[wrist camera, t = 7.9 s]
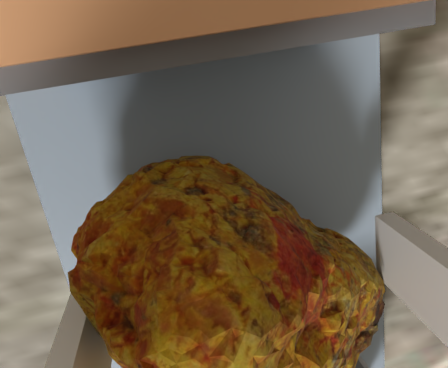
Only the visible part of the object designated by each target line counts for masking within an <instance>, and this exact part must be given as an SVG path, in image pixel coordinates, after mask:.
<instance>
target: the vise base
mask: <svg viewBox="0 0 448 368" xmlns="http://www.w3.org/2000/svg"><path fill="white" fill-rule="evenodd" d="M6 98H7V101H8V104H9V107H10V110H11V113H12V116H13V119H14V122H15V125H16V128H17V131H18V134H19V138H20V141H21V144H22V147H23V150H24V153H25V156H26V159H27V162H28V165H29V168H30V171H31V174H32V177H33V180H34V183H35V186H36V189H37V192H38V195H39V198H40V201H41V204H42V207H43V210H44V213H45V216H46V219H47V222H48V225H49V228H50V231H51V234H52V237H53V240H54V243H55V246H56V249H57V252H58V255H59V258H60V261H61V264H62V267H63V270H64V273H65V276H66V279H67V282H68V285H69V279H68V272H69V271H71V270H72V269H74V268H75V266H76V264H77V259H76V257H75V256H74V254H73V253H72V251H71V247H72V242H73V237H74V235H75V234H76V232H77V229H78V227H80V226H81V225H82V224H83V223H84V221H85V219H86V216H87V214H88V212H89V210H90V209H91V207H92V206H93V205H94V204H95V203H96V202H98V201H103V200H104V199H105V198H107V196H108V195H110V194H111V193H112V192H113V191H114V190H115V189H116V188H117V187H118V185H119V184H120V183H121V182H122V181H123V180H124V179H125V178H126V176H127V175H130V174H134V173H135V172H137V171H138V170H139V169H140V168H141V167H143V166H145V165H148V164H150V163H153V162H162V161H164V160H167V159H178V158H180V157H181V156H197V155H198V156H210V157H212V158H214V159H217V160H218V161H219V162H220V163H222V164H226V163H230V164H232V165H234V166H235V167H237V168H239V169H240V170H242V171H243V172H245V173H246V174H248V175H249V176H250V177H251V178H253V179H254V180H255V181H257V182H258V183H259V184H261V185H262V186H264V187H266V188H267V189H269V190H271V191H273V192H275V193H277V194H278V195H279V196H281V197H282V198H283V199H285V200H286V201H288V202H290V203H291V204H292V205H293V206H294V208H295V209H296V211H297V212H298V214H299V216H300V217H301V218H304V219H310V221H311V222H312V223H313V224H314V225H315V226H317V227H320V228H323V229H325V228H328V229H331V230H333V231H336V232H338V233H340V234H342V235H344V236H345V237H347V238H349V239H350V240H351V241H352V242H354V243H355V244H356V245H357V246H358V247H359V248H360V249H361V250H363V251H364V252H365V253H366V254H367V255H368V256H369V257H370V258H371V259H372V261H373V263H374V266H375V267H376V237H375V216H376V215H380V214H382V172H381V107H380V42H379V34H374V35H368V36H362V37H356V38H350V39H344V40H338V41H332V42H326V43H320V44H313V45H307V46H301V47H295V48H289V49H283V50H277V51H271V52H265V53H258V54H252V55H246V56H240V57H234V58H228V59H222V60H216V61H210V62H204V63H197V64H191V65H185V66H179V67H173V68H167V69H161V70H155V71H149V72H142V73H136V74H130V75H124V76H118V77H112V78H106V79H100V80H94V81H88V82H81V83H75V84H69V85H63V86H57V87H51V88H45V89H39V90H33V91H26V92H20V93H14V94H8V95H6ZM69 288H70V286H69ZM111 368H122V367H121V366H120V365H118V364H117V363H116V362H115V361H114V360H113V359H112V363H111ZM355 368H384V309H383V313H382V316H381V318H380V320H379V322H378V331H377V332H376V333H375V334H374V335H373V338H372V342H371V345H370V346H369V347H367V348H366V349H365V350H364V351H362V352H361V353H360V355H359V358H358V360H357V363H356V366H355Z"/></svg>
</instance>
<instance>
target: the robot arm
mask: <svg viewBox="0 0 448 368" xmlns="http://www.w3.org/2000/svg"><path fill="white" fill-rule="evenodd" d="M375 237H376V269H377V271H378V273H379V274H380V276H381V278H382V280H383V282H384V284H385V285H386V286H387V287H388V288H389V289H390V290H391V291H392V292H393V293H394V294H395V295H396V296H397V297H398V298H399V299H400V300H401V301H402V302H403V303H404V304H405V305H406V306H407V307H408V308H409V309H410V310H411V311H412V312H413V313H414V314H415V315H416V316H417V317H418V318H419V319H420V320H421V321H422V322H423V323H424V324H425V325H426V326H427V327H428V328H429V329H430V330H431V331H432V332H433V333H434V334H435V335H436V336H437V337H438V338H439V339H440V340H441V341H442V342H443V343H444V344H445V345H446V346H447V347H448V248H447V247H446V246H444V245H443V244H441V243H440V242H438V241H437V240H435V239H434V238H432V237H431V236H429V235H428V234H426V233H425V232H423V231H421V230H420V229H418V228H417V227H415V226H414V225H412V224H411V223H409V222H408V221H406V220H405V219H403V218H402V217H400V216H399V215H397V214H396V213H394V212H390V213H385V214H380V215H376V216H375ZM111 363H112V358H111V357H110V356H109V354H108V351H107V348H106V345H105V342H104V339H103V338H102V337H101V336H100V335H99V334H98V333H97V332H96V330H95V329H94V327H93V326H92V324H91V322H90V321H89V319H88V318H87V316H86V315H85V313H84V312H83V310H82V309H81V307H80V305H79V304H78V303H77V301H76V300H75V298H74V297H73V296H72V294H71V295H70V297H69V300H68V303H67V306H66V309H65V311H64V314H63V317H62V320H61V323H60V326H59V328H58V331H57V334H56V337H55V340H54V342H53V345H52V348H51V351H50V354H49V357H48V359H47V362H46V365H45V368H111Z"/></svg>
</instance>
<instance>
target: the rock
mask: <svg viewBox="0 0 448 368" xmlns="http://www.w3.org/2000/svg"><path fill="white" fill-rule="evenodd" d="M71 251H72V253H73V254H74V256H75V257H76V259H77V264H76V266H75V268H74V269H72V270H71V271H69V272H68V279H69V286H70V292H71V294H72V296H73V297H74V298H75V300H76V301H77V303H78V304H79V305H80V307H81V309H82V310H83V312H84V313H85V315H86V316H87V318H88V319H89V321H90V322H91V324H92V326H93V327H94V329H95V330H96V332H97V333H98V334H99V335H100V336H101V337H102V338H103V339H104V342H105V345H106V348H107V351H108V354H109V356H110V357H111V358H112V359H113V360H114V361H115V362H116V363H117V364H118V365H120V366H121V367H122V368H355V366H356V363H357V360H358V358H359V355H360V353H361V352H362V351H364V350H365V349H366V348H367V347H369V346H370V345H371V342H372V338H373V335H374V334H375V333H376V332H377V331H378V322H379V320H380V318H381V316H382V313H383V309H384V305H385V304H384V301H383V294H384V292H385V288H384V282H383V280H382V278H381V276H380V274H379V273H378V271H377V269H376V267H375V266H374V263H373V261H372V259H371V258H370V257H369V256H368V255H367V254H366V253H365V252H364V251H363V250H361V249H360V248H359V247H358V246H357V245H356V244H355V243H354V242H352V241H351V240H350V239H349V238H347V237H345V236H344V235H342V234H340V233H338V232H336V231H333V230H331V229H328V228H325V229H323V228H320V227H317V226H315V225H314V224H313V223H312V222H311V221H310V219H304V218H301V217H300V216H299V214H298V212H297V211H296V209H295V208H294V206H293V205H292V204H291V203H290V202H288V201H286V200H285V199H283V198H282V197H281V196H279V195H278V194H277V193H275V192H273V191H271V190H269V189H267V188H266V187H264V186H262V185H261V184H259V183H258V182H257V181H255V180H254V179H253V178H251V177H250V176H249V175H248V174H246V173H245V172H243V171H242V170H240V169H239V168H237V167H235V166H234V165H232V164H230V163H226V164H222V163H220V162H219V161H218V160H217V159H214V158H212V157H210V156H198V155H197V156H181V157H180V158H178V159H167V160H164V161H162V162H153V163H150V164H148V165H145V166H143V167H141V168H140V169H139V170H138V171H137V172H135V173H134V174H130V175H127V176H126V178H125V179H124V180H123V181H122V182H121V183H120V184H119V185H118V187H117V188H116V189H115V190H114V191H113V192H112V193H111V194H110V195H108V196H107V198H105V199H104V200H103V201H98V202H96V203H95V204H94V205H93V206H92V207H91V209H90V210H89V212H88V214H87V216H86V219H85V221H84V223H83V224H82V225H81V226H80V227H78V229H77V232H76V234H75V235H74V237H73V242H72V247H71Z"/></svg>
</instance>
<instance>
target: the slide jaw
mask: <svg viewBox="0 0 448 368" xmlns="http://www.w3.org/2000/svg"><path fill="white" fill-rule="evenodd" d="M435 19H436V0H0V96H2V95H8V94H14V93H20V92H26V91H33V90H39V89H45V88H51V87H57V86H63V85H69V84H75V83H81V82H88V81H94V80H100V79H106V78H112V77H118V76H124V75H130V74H136V73H142V72H149V71H155V70H161V69H167V68H173V67H179V66H185V65H191V64H197V63H204V62H210V61H216V60H222V59H228V58H234V57H240V56H246V55H252V54H258V53H265V52H271V51H277V50H283V49H289V48H295V47H301V46H307V45H313V44H320V43H326V42H332V41H338V40H344V39H350V38H356V37H362V36H368V35H374V34H381V33H387V32H393V31H399V30H405V29H411V28H417V27H423V26H429V25H435Z"/></svg>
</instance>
